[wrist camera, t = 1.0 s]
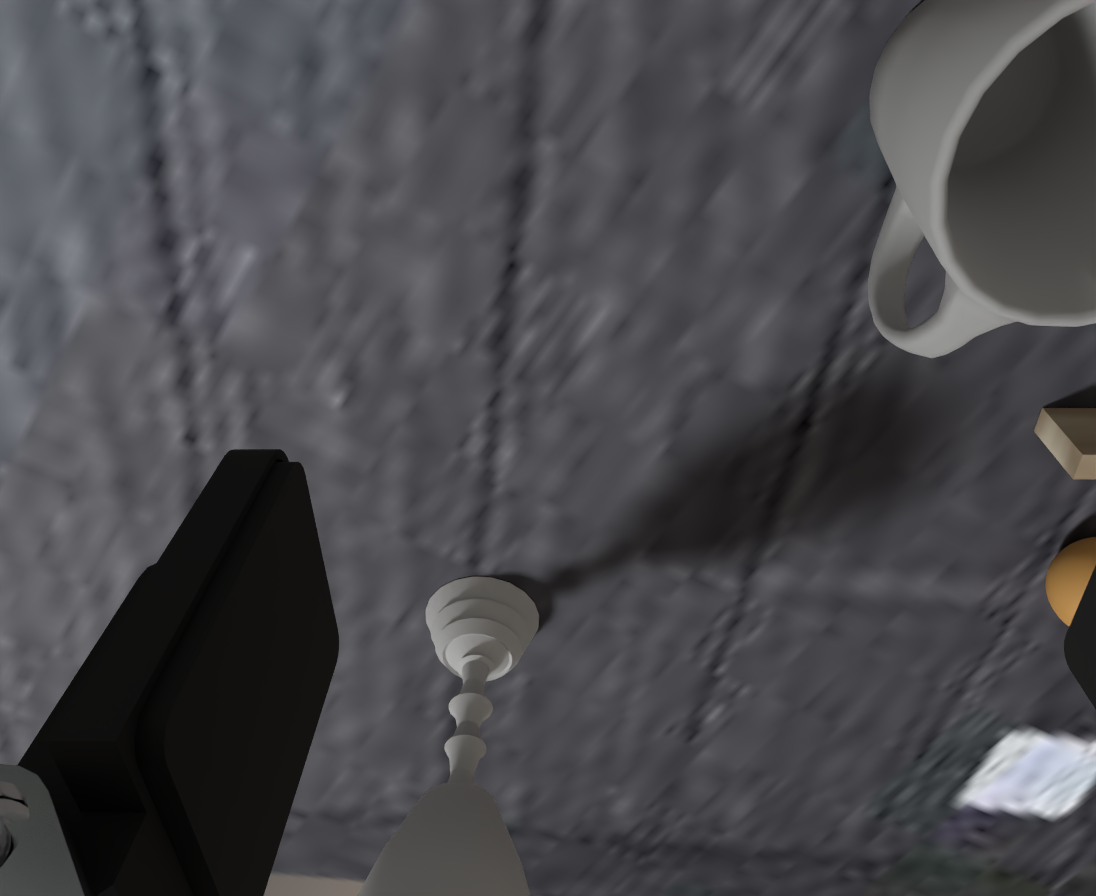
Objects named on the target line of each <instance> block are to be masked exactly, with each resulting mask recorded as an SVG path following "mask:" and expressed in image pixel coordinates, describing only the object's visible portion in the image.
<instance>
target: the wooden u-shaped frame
mask: <svg viewBox="0 0 1096 896" xmlns="http://www.w3.org/2000/svg"><path fill="white" fill-rule="evenodd" d="M1034 432H1035V433H1036V434H1037V436H1038V437H1039V438H1040V439H1041V440H1042V442H1043V443H1044V444H1045V445H1046V447H1047V448H1048V449H1049V450H1050V451H1051V453H1052V454H1053V455H1054V456H1055V458H1056V459H1057V460H1058V461H1059V463H1060V464H1061V465H1062V466H1063V467H1064V469H1065V470H1066V471H1067V472H1068V474H1069V475H1070V476H1071V477H1072V479H1096V408H1042V410H1041V413H1040V416H1039V419H1038V421H1037V424H1036V427H1035V430H1034Z"/></svg>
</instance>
